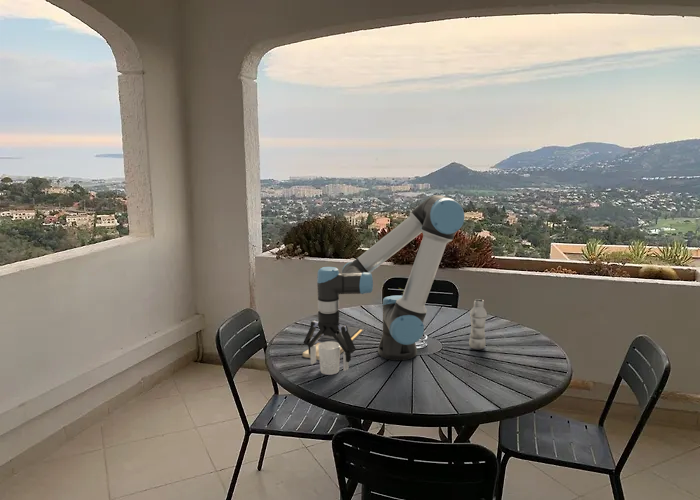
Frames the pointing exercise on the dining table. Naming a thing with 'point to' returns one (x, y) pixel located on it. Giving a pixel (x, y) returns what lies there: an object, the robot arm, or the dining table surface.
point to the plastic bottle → (478, 325)
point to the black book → (351, 330)
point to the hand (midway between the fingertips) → (329, 366)
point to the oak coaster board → (306, 353)
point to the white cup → (329, 357)
